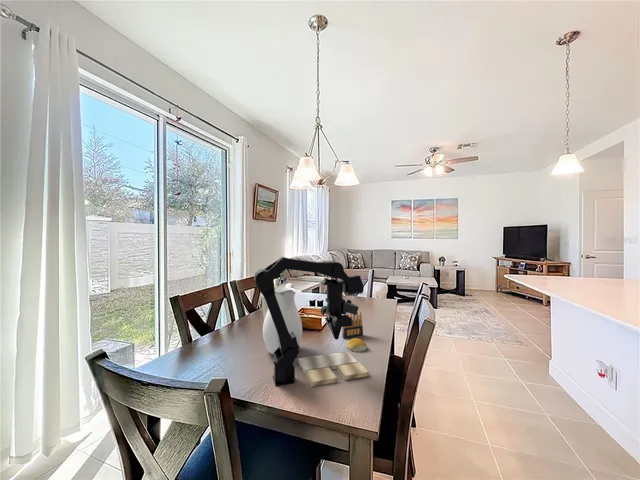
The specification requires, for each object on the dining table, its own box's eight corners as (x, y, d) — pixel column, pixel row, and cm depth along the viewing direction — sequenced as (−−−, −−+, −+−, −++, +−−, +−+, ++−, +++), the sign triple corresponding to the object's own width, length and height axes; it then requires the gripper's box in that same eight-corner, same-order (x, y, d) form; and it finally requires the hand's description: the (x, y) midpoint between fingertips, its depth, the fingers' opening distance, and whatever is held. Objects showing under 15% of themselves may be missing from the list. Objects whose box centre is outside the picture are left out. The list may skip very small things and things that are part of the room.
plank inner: (311, 386, 94) (311, 382, 94) (305, 375, 101) (305, 370, 101) (336, 382, 97) (336, 377, 96) (329, 371, 104) (328, 367, 104)
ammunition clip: (361, 334, 143) (361, 310, 142) (363, 335, 141) (363, 311, 141) (342, 337, 139) (341, 313, 138) (343, 338, 137) (343, 314, 137)
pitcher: (296, 361, 113) (295, 291, 113) (256, 357, 116) (255, 289, 116) (310, 339, 137) (309, 281, 136) (276, 337, 140) (276, 280, 139)
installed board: (304, 374, 102) (304, 369, 102) (298, 362, 112) (298, 358, 112) (357, 365, 109) (357, 361, 109) (347, 355, 118) (347, 351, 118)
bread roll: (361, 343, 131) (361, 335, 131) (369, 351, 122) (369, 342, 122) (344, 345, 129) (344, 336, 129) (350, 353, 121) (350, 344, 120)
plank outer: (345, 380, 97) (345, 375, 97) (336, 370, 105) (336, 365, 105) (368, 375, 100) (368, 371, 100) (358, 366, 108) (358, 362, 108)
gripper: (366, 299, 96) (367, 345, 96) (346, 289, 114) (347, 328, 114) (335, 302, 93) (336, 350, 93) (319, 292, 111) (321, 331, 111)
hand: (336, 338), depth 103 cm, fingers closed
